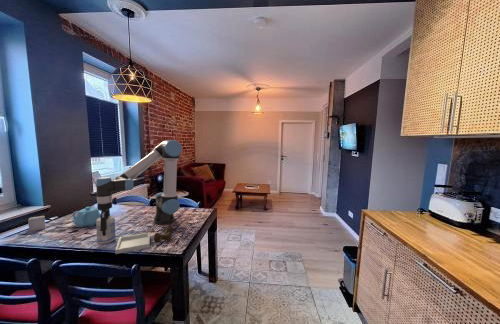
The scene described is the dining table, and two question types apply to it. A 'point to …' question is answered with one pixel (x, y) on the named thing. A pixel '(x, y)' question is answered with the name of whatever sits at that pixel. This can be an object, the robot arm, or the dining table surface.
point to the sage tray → (133, 243)
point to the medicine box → (36, 223)
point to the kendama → (166, 234)
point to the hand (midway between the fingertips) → (106, 236)
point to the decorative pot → (86, 217)
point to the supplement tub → (110, 230)
